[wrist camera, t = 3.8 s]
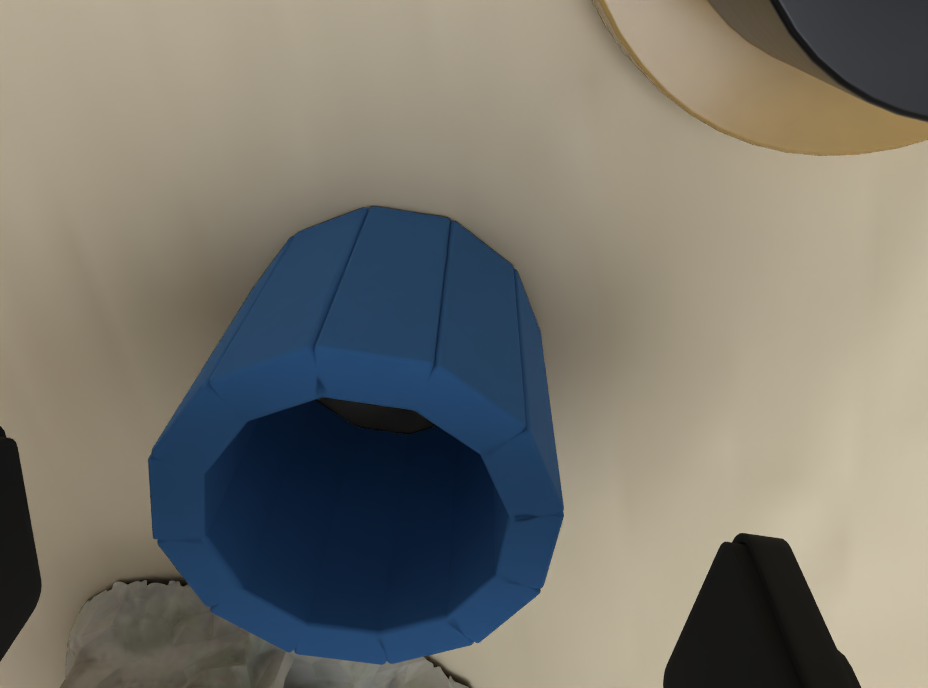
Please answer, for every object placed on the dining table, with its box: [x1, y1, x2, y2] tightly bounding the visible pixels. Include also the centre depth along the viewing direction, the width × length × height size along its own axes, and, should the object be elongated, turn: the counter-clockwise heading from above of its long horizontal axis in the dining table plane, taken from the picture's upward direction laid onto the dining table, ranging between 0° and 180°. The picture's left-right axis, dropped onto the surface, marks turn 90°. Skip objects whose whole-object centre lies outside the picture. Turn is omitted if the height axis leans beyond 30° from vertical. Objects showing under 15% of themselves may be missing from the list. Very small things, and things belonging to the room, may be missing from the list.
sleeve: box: [148, 206, 564, 665], centre depth 14 cm, size 6×6×6 cm
